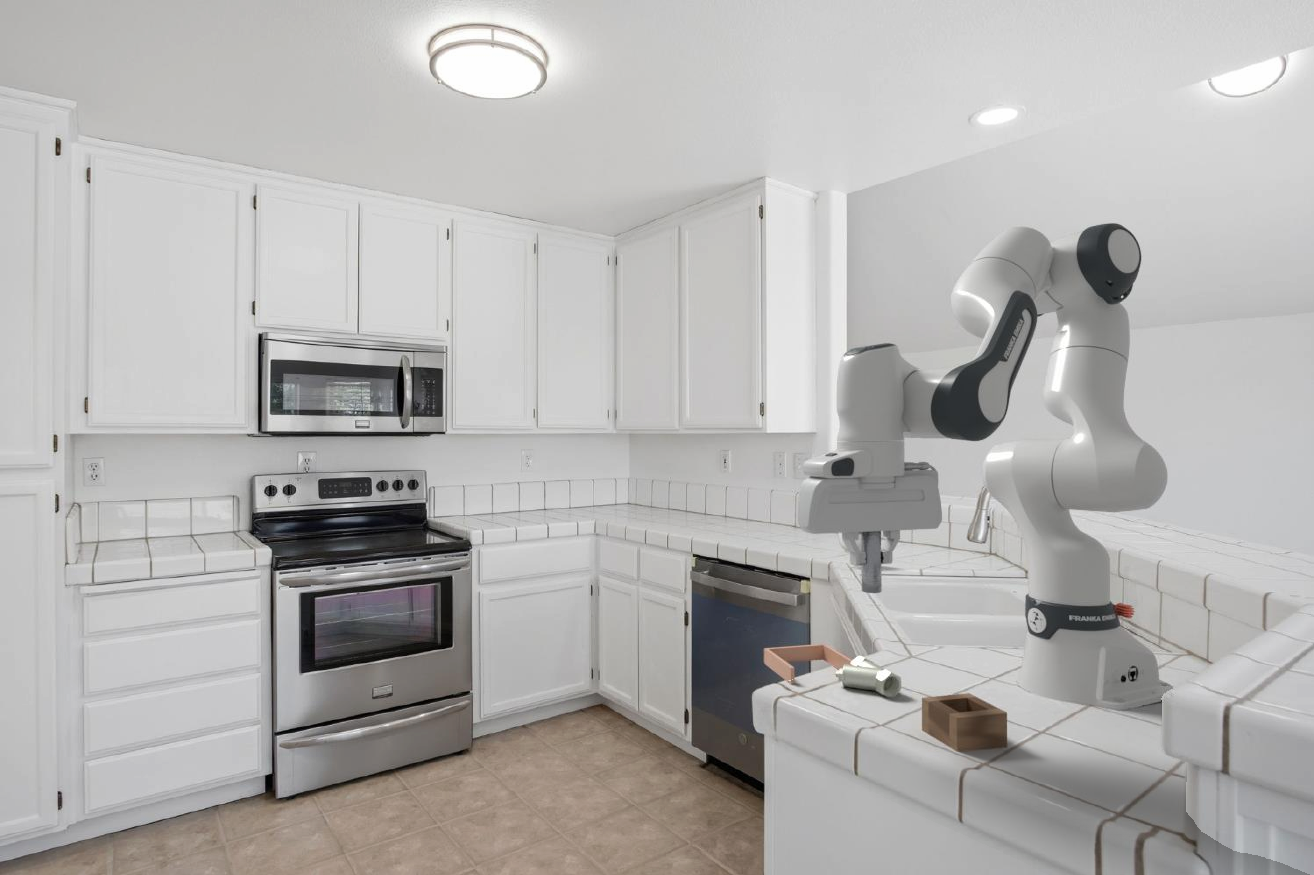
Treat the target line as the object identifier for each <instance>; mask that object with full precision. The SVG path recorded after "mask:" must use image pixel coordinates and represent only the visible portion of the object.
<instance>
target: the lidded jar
mask: <svg viewBox="0 0 1314 875" xmlns="http://www.w3.org/2000/svg"><path fill="white" fill-rule="evenodd" d="M837 538H838V542H839V546H840V547H841V548H842V549H843V550H844V552H845V553H849V554H850V551H849V550H848V548H847V547H846V545H845V543H844V541H843V540H842V533H837ZM855 542H856V544H857V546H858V548H859V550H860V551H861V532H859V540H855Z"/></svg>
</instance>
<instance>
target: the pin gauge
mask: <svg viewBox="0 0 1314 875" xmlns="http://www.w3.org/2000/svg"><path fill="white" fill-rule="evenodd" d="M881 548H882V531H872V532H861V551H862V552H866V558H865V560H866V565H860V566H861V592H863V593H866V594H867V593H868V594H880V593H882V589H883V588H882V586H883V585H882V584H883V582H882V564H881Z"/></svg>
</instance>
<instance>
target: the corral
mask: <svg viewBox="0 0 1314 875" xmlns="http://www.w3.org/2000/svg"><path fill="white" fill-rule="evenodd" d="M822 660H823V661H825V662H827V663H828V664H829V665H831V666H832V667H833V668H836V669H837V670H839V669H843V666H844V664H848V665H850V664H851V662H852V661H853V660H854V659H851V658H849V657H847V655H844V654H842V653H841V652H839V651H837V650H836V649H834V648H832V647H831V646H829V645H828V644H826V643H819V644H818V643H817V644H816V643H815V644H806V645H805V644H803V645H792V646H779V647H778V646H777V647H765V648H763V664H764V665H765V666H767V667H768V668H769V669H771V670H772V671H773V672H774V673H776V674H777V675H778V676H779V677H781V678H782V679H783V680H785V681H786V682H787V681H788V680H791V681H789V682H788V684H789V685H795V682H796V681H795V679H796V678H795V670H796V668H795V666H793V665H792V664H790V663H796V662H797V663H798V662H809V661H810V662H811V661H822ZM792 679H793V680H792Z"/></svg>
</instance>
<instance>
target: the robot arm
mask: <svg viewBox="0 0 1314 875" xmlns="http://www.w3.org/2000/svg"><path fill="white" fill-rule="evenodd" d="M1141 264H1142V251H1141V246H1140V244H1139V242H1138V239H1137V238H1136V236H1135V235H1134V234H1133V233H1132V232H1131V231H1130V230H1129V229H1128V228H1126V227H1125V226H1123V225H1122V224H1119V223H1113V222H1112V223H1101V224H1096V225H1092V226H1089V227H1087V228H1085V229H1084V230H1082V231H1079V232H1076V233H1075V232H1074V233H1071V234H1069V235H1065V236H1063V237H1060V238H1058V239H1054V240H1052V241H1050V240H1049V239H1048V238H1047V236H1046V235H1045V234H1044V233H1042V232H1041V231H1039V230H1037V229H1035V228H1033V227H1028V226H1016V227H1015V226H1014V227H1011V228H1007V229H1006V230H1003V231H1002V232H1001V233H999V234H998V235H997V236H995V237H994V238H993V239H992V240H991V241H990V242H989V243H987V244H986V245H985V246H984V247H983V248H982V249H981V250H980V252H978V254H977V255H975V257H974V258H973V259H972V261H971V262H970V263H969V264H968V265H967V267H966V268H965V269H964V271H963V272H962V274H961V275H960V276H959V278H958V279H957V281H956V283H955V284H954V287H953V289H952V291H951V295H950V307H951V311H952V314H953V317H954V318H955V319H956V321H957V323H958V324H959V325H960V326H961V327H962V328H963V329H964V330H966V331H967V332H968V333H969V334H971V335H973V336H975V337H978V338H980V339H982V341H981V343H980V346H979V348H978V350H977V352H976V355H975V356H974V357H973V358H971V359H970V360H967V361H965V362H962V363H960V364H957V365H952V366H948V367H936V368H929V369H920V367H917V366H914V365H913V364H911V363H910V362H908V361H907V360H906V359H905V358H904V357H903V356H902V355H901V353H900V349H899V346H898V345H897V344H895V343H889V342H888V343H887V342H885V343H878V344H872V345H864V346H860V347H853V348H851V349H849V350H847V351H846V352H845V353H843V355H842V356H841V358H840V362H839V365H838V370H837V380H836V413H837V416H838V419H839V420H838V421H839V430H838V434H837V436H836V449H833V450H831V451H829V452H827V453H823V454H820V455H818V456H815V457H812V458H810V459H807V460H805V461H804V462H803V464H802V466H803V468H802V469H803V470H802V471H803V474H804V475H805V476H807V478H805V479H804V480H803V481H802V483H801V485H800V488H799V491H798V492H799V493H798V502H797V524H798V526H799V527H800V529H801V530H802V531H803V532H805V533H808V534H813V535H818V534H819V535H822V534H838V533H842V540H843V541H844V543H845V545H846V547H847V548H848V550H849V551H850V553H849V563H850V565H852V566H855V567H856V566H857V567H859V566H861V565H866V560H865V558H866V552H862V551H860V550H859V548H858V546H857V544H856V542H855V540H859V532H872V531H881V532H882V537H884V538H885V540H884V541H883V545H881V565H891V564H892V563H893V552H894V550H895V549H896V548H897V545H898V543H899V542H900V540H901V531H912V530H913V531H915V530H936V529H938V528H939V527H940V525H941V523H942V522H943V512H942V511H943V510H942V502H941V495H940V490H939V472H938V471H937V469H936V467H934V466H932V465H931V464H930V463H929V462H927V461H919V462H911V461H905V439H906V438H908V439H951V440H960V441H968V442H979V441H984V440H986V439H987V438H989V437H990V436H991V435H993V434H995V432H996V431H997V430H998V428H999V427H1000V426H1001V425H1002V423H1003V422H1004V420H1005V418H1006V415H1007V413H1008V410H1009V405H1010V399H1011V398H1010V397H1011V392H1012V389H1013V385H1014V383H1015V381H1016V378H1017V377H1018V373H1019V371H1020V369H1021V366H1022V364H1023V362H1024V360H1025V357H1026V355H1027V353H1028V350H1029V347H1030V345H1031V343H1032V339H1033V337H1034V335H1035V331H1036V328H1037V324H1038V317H1039V318H1040V317H1041V316H1043V315H1046V314H1051V313H1055V314H1056V318H1057V326H1058V327H1057V329H1056V332H1055V335H1054V338H1053V342H1052V345H1051V349H1050V353H1049V357H1048V362H1047V368H1046V372H1045V380H1044V384H1043V390H1042V395H1041V398H1042V401H1043V405H1044V407H1045V408H1046V410H1047V411H1048V413H1049V414H1051V415H1052V416H1054V417H1055V418H1057V419H1059V420H1060V421H1062V422H1065V423H1067V424H1069V425H1071V426H1073V431H1072V434H1071V436H1070V437H1067V438H1023V439H1017V440H1012V441H1006V442H1002V443H998V444H995V445H994V446H993V447H992V448H991V449H990V450H989V451H988V452H987V454H986V456H985V457H984V460H983V463H982V469H981V477H982V481H983V484H984V486H985V489H986V490H987V492H988V493H989V495H991V497H992V498H993V499H995V500H996V501H998V503H999V504H1001V506H1003V507H1004V508H1005V509H1006V510H1007V511H1008V513H1009V515H1011V517H1012V519H1014V522H1015V523H1016V525H1017V527H1018V529H1019V531H1020V533H1021V536H1022V539H1023V542H1024V546H1025V551H1026V561H1027V562H1026V563H1027V580H1028V581H1027V582H1028V584H1027V586H1028V593H1027V594H1025V601H1024V607H1025V608H1024V616H1025V620H1026V621H1025V622H1026V625H1027V626H1026V628H1027V630H1026V635H1025V641H1024V642H1025V643H1024V649H1023V657H1022V663H1021V665H1020V671H1019V673H1018V674H1019V675H1018V677H1017V679H1016V680H1017V681H1016V682H1017V685H1018V686H1019V687H1020V688H1021V689H1023V690H1024V691H1027V692H1028V693H1031V694H1034V696H1035V695H1036V696H1038V697H1042V698H1045V699H1050V700H1054V701H1059V702H1063V703H1064V702H1065V703H1070V704H1078V705H1084V706H1085V705H1087V706H1093V707H1098V708H1103V709H1107V710H1114V711H1124V710H1125V709H1126V710H1128V709H1127V708H1131V709H1134V708H1133V707H1136V708H1139V707H1144V706H1147V705H1152V704H1157V703H1160V702H1162V701H1161V698H1162V696H1163V694H1164V693H1166V692H1167V691H1169V690H1171V689H1173V687H1174V685H1171V684H1169V683H1168V682H1166V681H1163V680H1162V679H1160V672H1159V664H1158V661H1157V657H1156V655H1155V654H1154V652H1153V651H1152V650H1151V649H1150V648H1149V647H1147V646H1146V645H1145V644H1143V643H1142V642H1141V641H1139V640H1138V639H1137V638H1135V637H1134V636H1133V635H1132V634H1130V633H1129V632H1128V631H1127V630H1125V628H1123V627H1122V626H1121V621H1120V618H1119V617H1122V618H1126V619H1132V618H1133V617H1134V615H1135V612H1136V611H1135V608H1133V606H1132V605H1129V604H1124V603H1122V602H1118V603H1116V604H1114V603H1113V602H1112V601H1111V561H1110V560H1111V558H1110V556H1109V553H1108V551H1107V549H1106V548H1105V547H1104V545H1103V544H1102V543H1101V542H1100V541H1099V540H1097V539H1096V538H1094V537H1092V536H1091V535H1089V534H1087V533H1085V532H1083V531H1082V530H1080V528H1078V526H1077V525H1076V524H1075V522H1074V520H1073V519H1072V518H1073V517H1071V512H1070V511H1071V510H1072V511H1073V510H1076V511H1087V512H1088V511H1089V512H1103V513H1104V512H1105V513H1120V512H1130V511H1139V510H1146V509H1150V508H1152V507H1153V506H1154V505H1155V504H1156V503H1157V502H1158V501H1160V499H1161V498H1162V496H1163V495H1164V492H1165V490H1166V487H1167V484H1168V469H1167V466H1166V462H1165V461H1164V458H1163V457H1162V456H1161V454H1160V453H1159V451H1157V449H1156V448H1155V447H1153V446H1152V445H1151V444H1149V443H1148V442H1146V441H1145V440H1144V439H1142V438H1141V437H1140V436H1139V435H1138V434H1137V433H1136V432H1135V431H1134V430H1133V428H1132V427H1131V425H1130V424H1129V421H1128V419H1127V417H1126V413H1125V407H1124V406H1125V401H1124V400H1125V399H1124V398H1125V387H1126V376H1127V371H1128V370H1127V369H1128V364H1129V357H1130V347H1131V346H1130V345H1131V343H1130V342H1131V341H1130V340H1131V339H1130V338H1131V334H1130V320H1129V314H1128V311H1127V309H1126V308H1125V306H1123V304H1122V302H1123V301H1124V300H1126V299H1127V298H1128V297H1129V295H1130V294H1131V292H1132V290H1133V287H1134V283H1135V282H1136V280H1137V277H1138V274H1139V272H1140V268H1141ZM1122 296H1123V297H1122ZM1156 701H1157V702H1156ZM1143 705H1144V706H1143Z"/></svg>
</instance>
